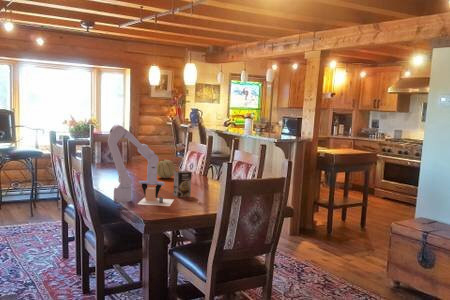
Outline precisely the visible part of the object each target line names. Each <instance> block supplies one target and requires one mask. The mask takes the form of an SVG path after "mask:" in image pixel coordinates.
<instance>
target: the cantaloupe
mask: <svg viewBox="0 0 450 300" xmlns="http://www.w3.org/2000/svg"><path fill="white" fill-rule="evenodd" d="M175 171H176V165H175V164H174V162H172V160H170V159H162V160H160V161H158V163H157V177H159V178H161V179H170V178H172V177H174V172H175Z"/></svg>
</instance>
